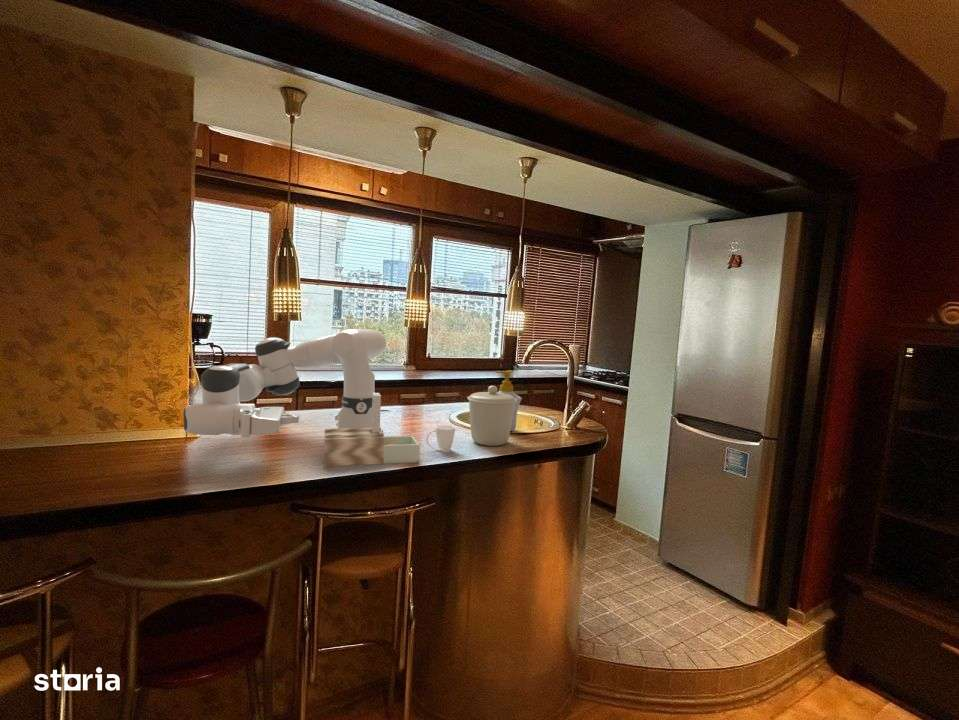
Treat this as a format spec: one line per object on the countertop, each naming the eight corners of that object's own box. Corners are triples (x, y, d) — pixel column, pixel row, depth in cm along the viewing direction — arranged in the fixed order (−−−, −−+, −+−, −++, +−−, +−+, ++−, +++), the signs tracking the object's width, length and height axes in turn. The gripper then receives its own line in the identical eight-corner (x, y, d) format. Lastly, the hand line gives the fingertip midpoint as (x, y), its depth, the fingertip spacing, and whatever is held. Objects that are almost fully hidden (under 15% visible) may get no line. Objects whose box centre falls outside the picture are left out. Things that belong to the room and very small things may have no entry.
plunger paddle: (372, 434, 150) (374, 395, 149) (371, 430, 155) (372, 392, 154) (379, 434, 150) (380, 395, 149) (377, 430, 156) (378, 392, 154)
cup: (457, 452, 165) (458, 428, 164) (428, 454, 161) (429, 429, 161) (451, 447, 171) (452, 424, 171) (423, 448, 168) (424, 425, 167)
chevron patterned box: (324, 466, 143) (325, 436, 142) (324, 455, 154) (324, 427, 153) (383, 463, 149) (384, 435, 148) (379, 453, 159) (380, 426, 159)
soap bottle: (482, 428, 202) (485, 369, 200) (504, 425, 210) (507, 368, 208) (503, 435, 192) (506, 372, 190) (526, 431, 200) (529, 371, 198)
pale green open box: (383, 463, 149) (384, 445, 148) (379, 453, 159) (379, 436, 159) (418, 462, 152) (419, 444, 151) (412, 452, 163) (412, 435, 162)
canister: (479, 434, 192) (482, 380, 190) (522, 441, 184) (525, 385, 182) (456, 443, 176) (458, 385, 174) (501, 452, 168) (505, 391, 166)
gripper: (251, 421, 150) (299, 421, 155) (241, 438, 131) (297, 438, 135) (252, 401, 150) (300, 401, 154) (242, 415, 130) (297, 415, 135)
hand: (298, 418), depth 145 cm, fingers closed
